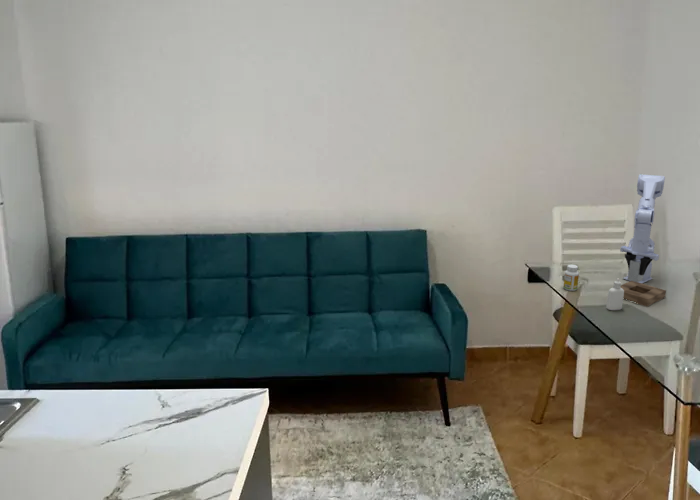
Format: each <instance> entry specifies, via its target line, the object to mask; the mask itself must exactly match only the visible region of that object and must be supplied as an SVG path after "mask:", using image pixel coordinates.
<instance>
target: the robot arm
mask: <svg viewBox="0 0 700 500" xmlns="http://www.w3.org/2000/svg"><path fill="white" fill-rule="evenodd" d="M637 178H638V179H637V185H636V188H637V189H636V193H637V195H639V196H641V198H640V199H638V206H637V209H636V210H635V214H634V227H633V228H634V230H633V236H632V238H630V240H629V243H628V246H627V245H622V246H620V248H619V250H620V252H622V253H623V252H624V253H625V254H624V258H625V260H626V262H627V268H628V272H627V276H625V277H623V280H626V281H628V282H630V281H631V280H628V274H629V267H630V260H632V259H635V258H637V259H640V261H641V269H640V275H643V280H642V281H640V282H639V283H642V284H645V283H646V282H649V281H651V280H653V277H651V274H652V268H653V267H652V266H653V263H652V261H658V260H659V259H660V254H657V253H654V252H655V241H654V240H653V239H652V238H651V231H652V226H653V224H654V219H655V214H656V213H655V206H656V199H658V198H659V197H662V195H663V191H664V187H665V186H664V185H665V180H666V176H664V175H655V174H654V175H653V174H645V173H644V174H642V173H640V174H638V177H637Z"/></svg>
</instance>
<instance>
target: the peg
mask: <svg viewBox="0 0 700 500" xmlns="http://www.w3.org/2000/svg"><path fill="white" fill-rule="evenodd" d="M640 269H641V261H640V259H637V258H635V259H632V260H630V267H629V269H628V271H629V274H628V273H627V276H628V280H627V281H629V280H631V281H634V282H640V281H642V280H643V275H640Z"/></svg>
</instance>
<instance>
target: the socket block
mask: <svg viewBox="0 0 700 500" xmlns="http://www.w3.org/2000/svg"><path fill="white" fill-rule="evenodd" d="M620 288H622V289H623V290H624V297H623V298H624V299H627V300H630V301H634V302H636V303H635V304H637V303H638V304H637V305H641V306H644V307H646V308H647V307H649V306H651V305H653V304H655V303H657V302H659V301H661V300H663V299H665V298H666V294H667V290H666V289H662V288H659V287H656V286H652V285H649V284H646V283H639V282H634V281H628V282H625V283H623V284H621V287H620ZM664 297H665V298H664ZM624 299H623V300H624ZM627 300H626V301H627ZM630 301H629V302H630Z"/></svg>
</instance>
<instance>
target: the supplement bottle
mask: <svg viewBox="0 0 700 500" xmlns="http://www.w3.org/2000/svg"><path fill="white" fill-rule="evenodd" d="M578 269H579V267H578V265H576V264H567V266H566V270H565V271H564V279H563V289H565V291H571V292H572V291H573V292H575V291H577V290H578V287H579V278H580V273H579V271H578Z"/></svg>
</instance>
